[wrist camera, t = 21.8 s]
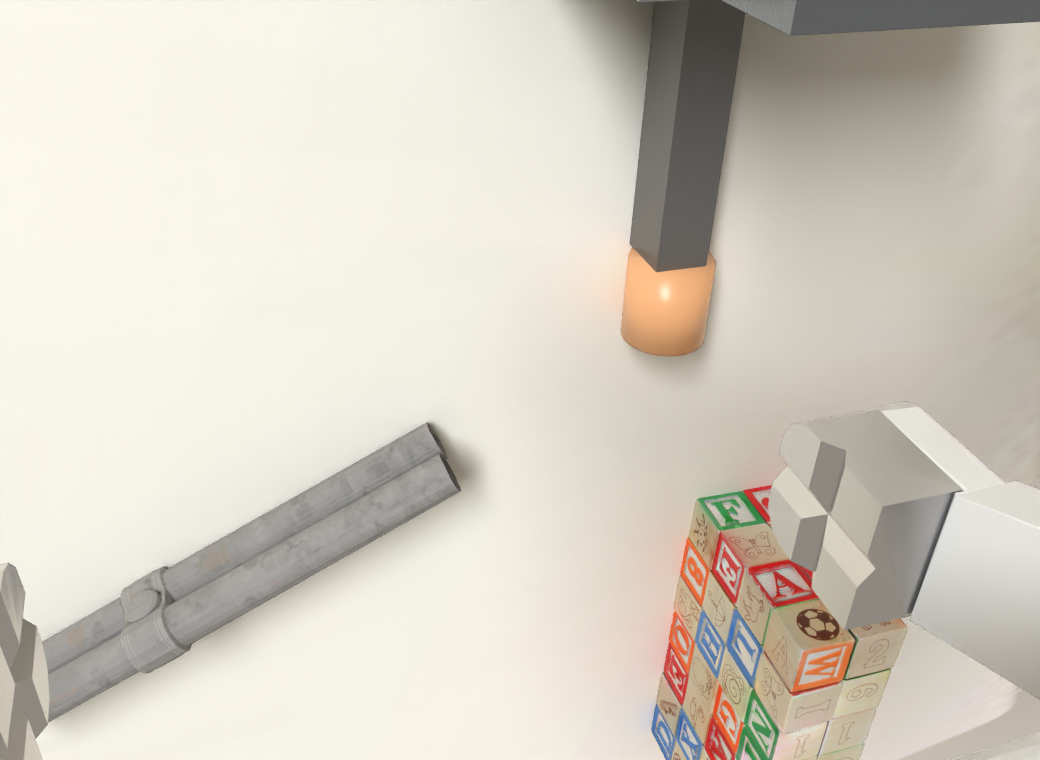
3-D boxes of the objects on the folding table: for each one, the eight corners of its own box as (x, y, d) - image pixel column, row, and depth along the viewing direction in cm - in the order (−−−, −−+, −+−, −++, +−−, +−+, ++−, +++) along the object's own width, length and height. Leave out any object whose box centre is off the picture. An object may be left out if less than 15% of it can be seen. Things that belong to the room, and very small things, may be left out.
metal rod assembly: (419, 407, 49) (444, 469, 45) (443, 443, 51) (470, 506, 47) (-39, 665, 49) (-54, 750, 45) (2, 693, 50) (-9, 777, 47)
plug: (644, -65, 39) (689, -44, 36) (735, -67, 40) (785, -47, 37) (608, 318, 49) (640, 361, 46) (681, 308, 50) (718, 349, 47)
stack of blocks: (727, 709, 72) (820, 867, 62) (648, 729, 70) (731, 894, 60) (787, 478, 60) (913, 629, 50) (693, 495, 58) (805, 654, 49)
